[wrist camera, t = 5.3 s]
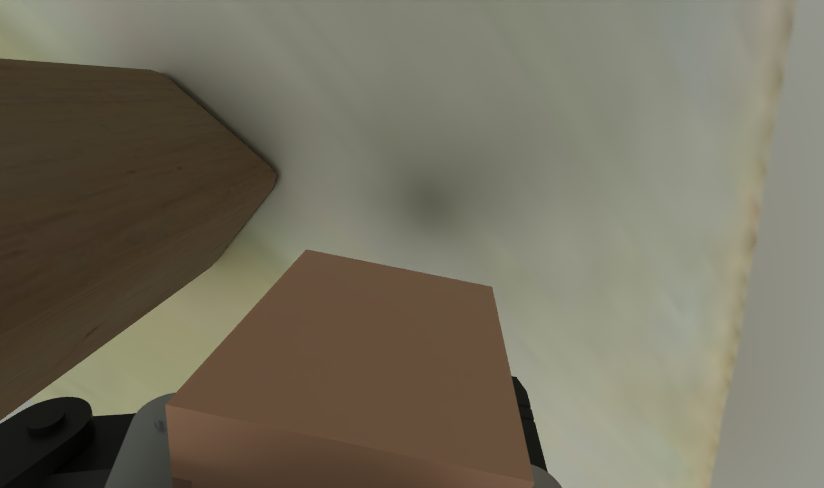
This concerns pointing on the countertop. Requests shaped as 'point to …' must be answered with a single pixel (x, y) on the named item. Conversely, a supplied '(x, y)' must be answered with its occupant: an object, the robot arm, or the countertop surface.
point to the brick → (354, 387)
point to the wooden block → (104, 208)
